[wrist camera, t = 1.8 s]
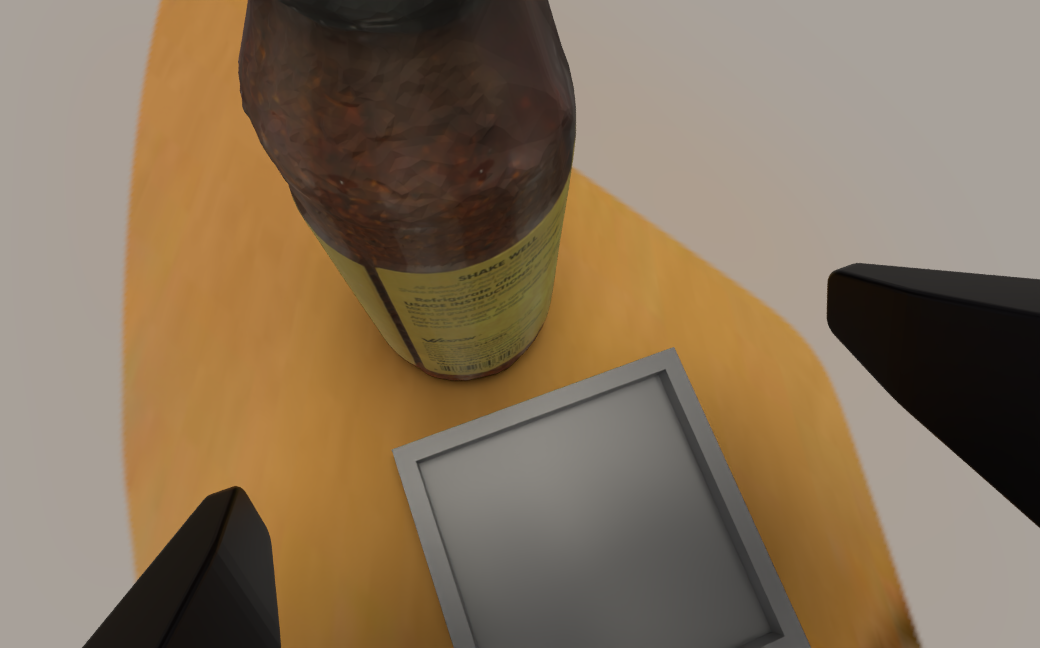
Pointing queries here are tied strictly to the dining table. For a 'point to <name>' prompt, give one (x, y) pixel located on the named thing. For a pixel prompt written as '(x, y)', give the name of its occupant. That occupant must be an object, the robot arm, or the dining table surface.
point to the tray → (595, 523)
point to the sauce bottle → (423, 160)
